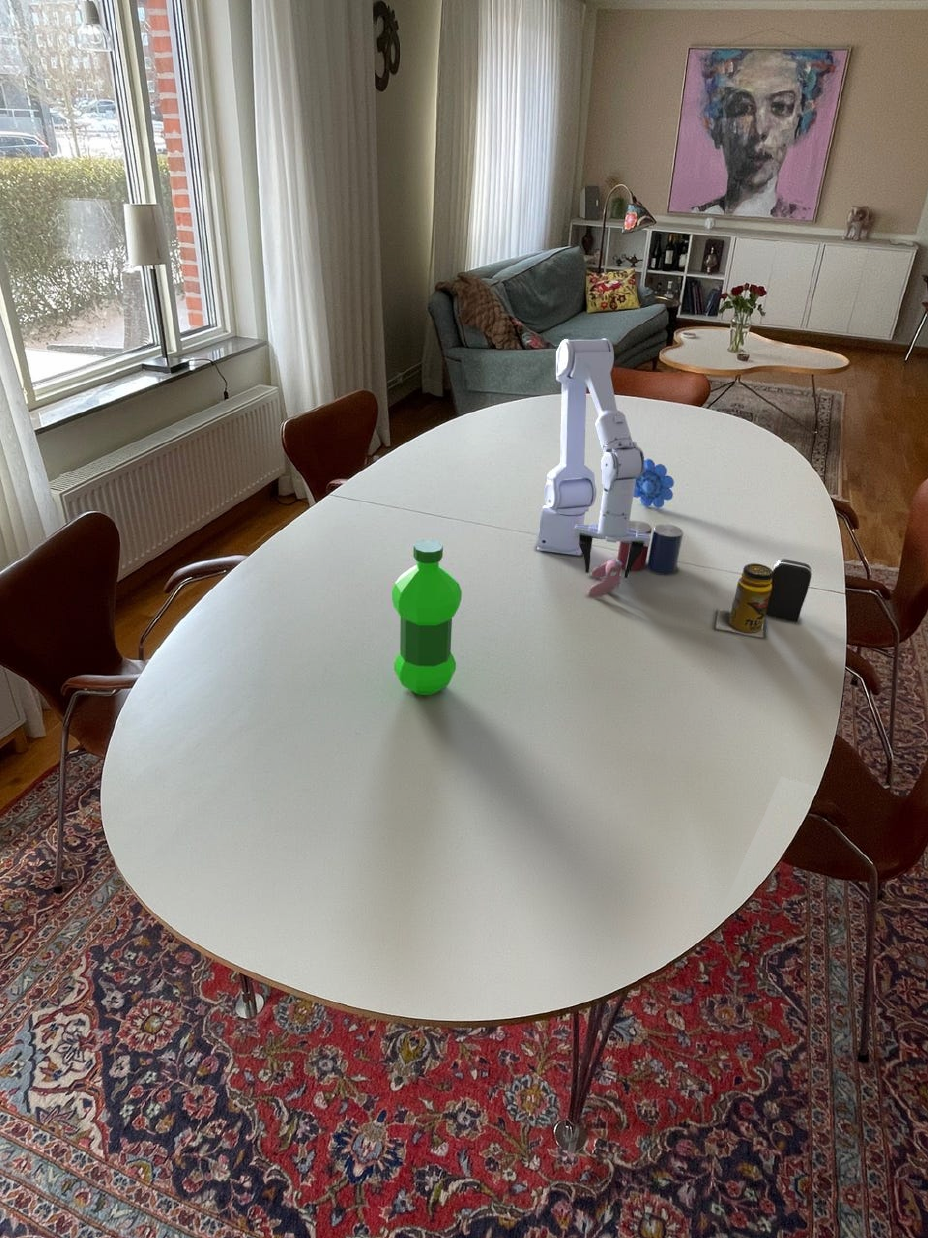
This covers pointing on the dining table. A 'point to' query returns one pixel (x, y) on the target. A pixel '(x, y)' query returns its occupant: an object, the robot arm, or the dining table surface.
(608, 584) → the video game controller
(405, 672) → the plastic bottle
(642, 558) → the tin can burgundy
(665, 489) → the blue flower
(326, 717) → the dining table surface
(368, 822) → the dining table surface
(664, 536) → the tin can navy
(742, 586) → the condiment
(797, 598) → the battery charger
